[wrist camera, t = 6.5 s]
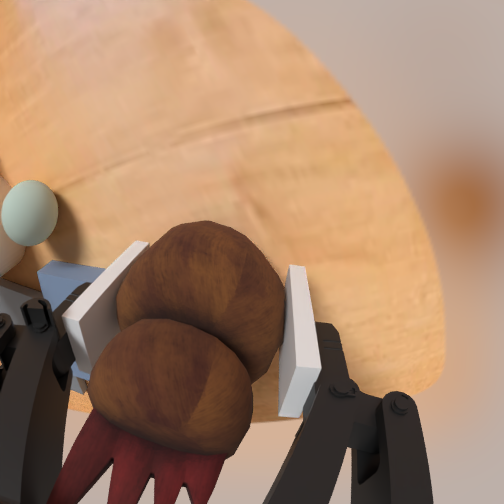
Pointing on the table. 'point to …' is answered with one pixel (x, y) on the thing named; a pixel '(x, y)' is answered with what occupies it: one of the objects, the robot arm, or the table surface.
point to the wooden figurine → (178, 368)
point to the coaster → (9, 301)
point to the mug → (7, 238)
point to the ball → (29, 213)
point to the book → (65, 287)
